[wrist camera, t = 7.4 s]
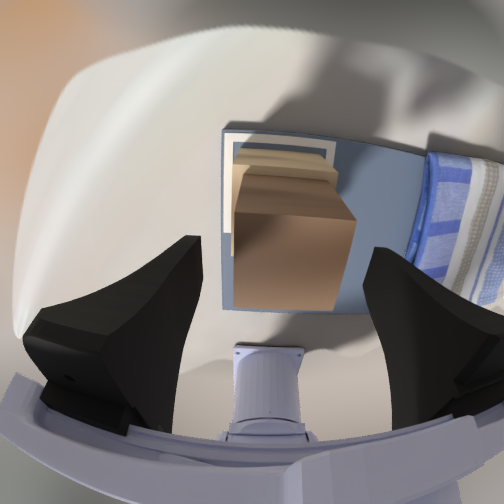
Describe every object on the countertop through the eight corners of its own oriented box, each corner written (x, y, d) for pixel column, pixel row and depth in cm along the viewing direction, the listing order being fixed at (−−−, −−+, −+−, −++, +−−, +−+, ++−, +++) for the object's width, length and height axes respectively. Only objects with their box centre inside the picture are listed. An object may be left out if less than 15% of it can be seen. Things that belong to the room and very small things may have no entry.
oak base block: (310, 224, 20) (322, 261, 16) (237, 220, 20) (230, 256, 16) (319, 154, 18) (338, 172, 13) (239, 147, 18) (232, 164, 13)
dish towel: (509, 289, 25) (518, 301, 22) (382, 314, 25) (392, 333, 23) (546, 176, 16) (560, 185, 13) (420, 141, 16) (441, 150, 14)
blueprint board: (378, 308, 26) (380, 314, 25) (223, 303, 26) (222, 310, 25) (425, 156, 18) (431, 159, 17) (223, 128, 18) (221, 130, 17)
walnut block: (315, 252, 16) (332, 310, 12) (240, 247, 16) (233, 307, 12) (327, 180, 14) (357, 220, 9) (243, 173, 14) (234, 212, 9)
